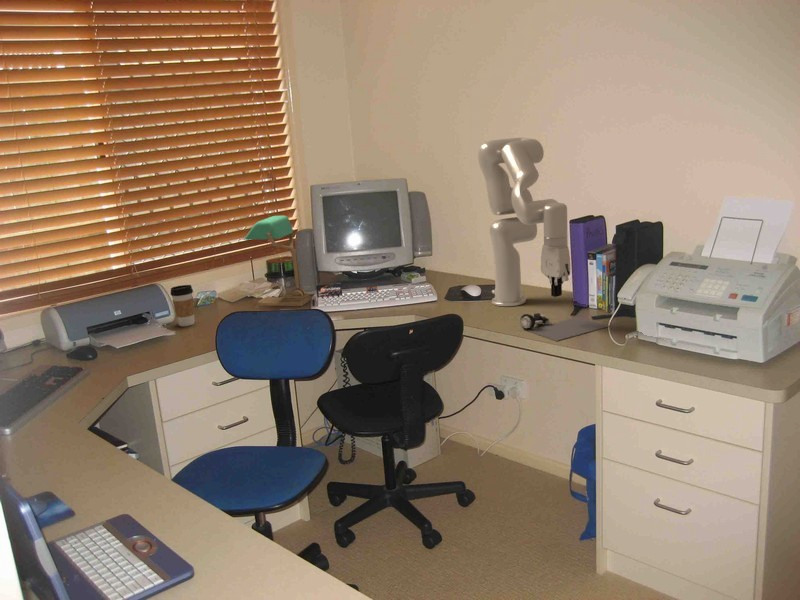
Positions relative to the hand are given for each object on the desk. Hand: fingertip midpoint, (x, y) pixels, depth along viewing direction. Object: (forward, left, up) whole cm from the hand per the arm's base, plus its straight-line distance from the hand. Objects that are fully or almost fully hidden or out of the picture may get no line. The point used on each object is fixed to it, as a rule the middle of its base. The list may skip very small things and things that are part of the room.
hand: (556, 295), depth 257 cm
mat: (+5, 0, -10) cm, 12 cm away
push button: (-4, -2, -9) cm, 10 cm away
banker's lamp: (-100, -59, -11) cm, 117 cm away
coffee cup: (-99, -99, -11) cm, 141 cm away
